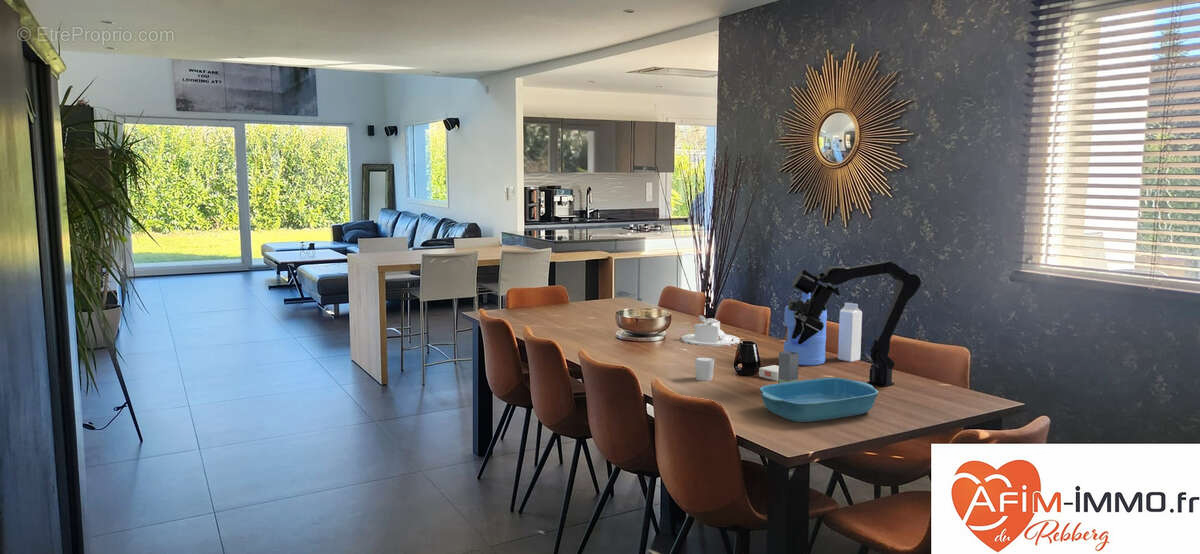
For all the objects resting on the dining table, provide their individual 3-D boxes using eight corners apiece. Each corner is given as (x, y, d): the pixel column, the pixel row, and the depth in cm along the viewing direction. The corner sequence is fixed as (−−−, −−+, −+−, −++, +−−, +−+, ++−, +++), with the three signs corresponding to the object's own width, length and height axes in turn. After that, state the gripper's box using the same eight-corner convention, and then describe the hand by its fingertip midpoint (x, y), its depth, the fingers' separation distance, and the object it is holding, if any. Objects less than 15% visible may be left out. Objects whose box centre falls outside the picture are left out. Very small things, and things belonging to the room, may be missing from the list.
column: (798, 388, 269) (799, 353, 267) (788, 390, 266) (789, 354, 264) (786, 385, 272) (787, 350, 271) (777, 387, 270) (778, 352, 268)
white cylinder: (718, 378, 282) (718, 358, 281) (706, 382, 277) (706, 362, 276) (701, 375, 287) (702, 356, 286) (690, 378, 282) (690, 359, 281)
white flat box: (792, 377, 284) (792, 369, 284) (776, 380, 279) (777, 372, 279) (774, 373, 290) (774, 364, 290) (758, 376, 285) (759, 368, 285)
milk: (850, 362, 309) (853, 304, 307) (837, 359, 314) (839, 302, 311) (860, 359, 313) (862, 303, 310) (847, 357, 318) (849, 301, 315)
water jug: (810, 356, 319) (812, 285, 316) (833, 364, 305) (836, 290, 301) (775, 358, 315) (777, 287, 311) (797, 367, 300) (799, 292, 296)
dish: (725, 349, 334) (725, 322, 332) (671, 342, 347) (671, 316, 346) (748, 339, 354) (749, 314, 353) (697, 333, 368) (697, 309, 366)
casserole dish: (790, 429, 225) (790, 404, 224) (744, 409, 245) (745, 385, 244) (892, 414, 240) (893, 391, 239) (841, 396, 260) (842, 374, 259)
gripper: (791, 286, 281) (769, 325, 283) (804, 293, 263) (780, 335, 265) (820, 301, 282) (797, 340, 284) (834, 309, 263) (810, 351, 265)
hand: (795, 341), depth 274 cm, fingers open, 9 cm apart
